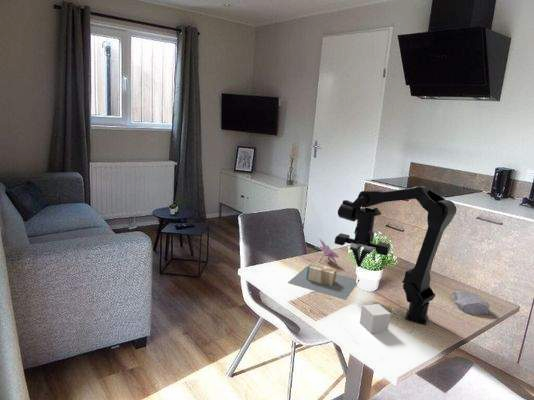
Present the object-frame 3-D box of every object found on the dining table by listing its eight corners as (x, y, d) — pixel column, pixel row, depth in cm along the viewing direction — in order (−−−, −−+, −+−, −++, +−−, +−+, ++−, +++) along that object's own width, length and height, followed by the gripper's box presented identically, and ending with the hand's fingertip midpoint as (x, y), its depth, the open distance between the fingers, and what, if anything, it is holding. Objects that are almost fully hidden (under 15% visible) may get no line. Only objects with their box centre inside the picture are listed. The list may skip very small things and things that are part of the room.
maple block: (333, 273, 142) (307, 266, 147) (331, 286, 143) (306, 279, 148) (337, 269, 147) (312, 262, 151) (335, 281, 148) (310, 274, 152)
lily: (337, 272, 161) (347, 251, 162) (312, 259, 160) (322, 238, 161) (329, 269, 173) (338, 250, 174) (306, 257, 172) (315, 238, 173)
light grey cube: (359, 323, 120) (362, 305, 119) (375, 321, 122) (378, 303, 121) (370, 334, 114) (373, 315, 113) (387, 331, 117) (390, 313, 115)
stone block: (462, 318, 133) (492, 315, 133) (462, 305, 132) (491, 302, 132) (446, 303, 144) (473, 299, 145) (445, 291, 144) (472, 287, 144)
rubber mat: (345, 300, 134) (345, 299, 134) (287, 283, 143) (287, 282, 143) (359, 280, 151) (359, 279, 151) (306, 267, 161) (306, 266, 161)
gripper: (395, 225, 140) (389, 266, 143) (345, 215, 148) (340, 254, 151) (390, 232, 130) (383, 275, 134) (336, 221, 138) (331, 262, 141)
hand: (358, 266), depth 140 cm, fingers closed
